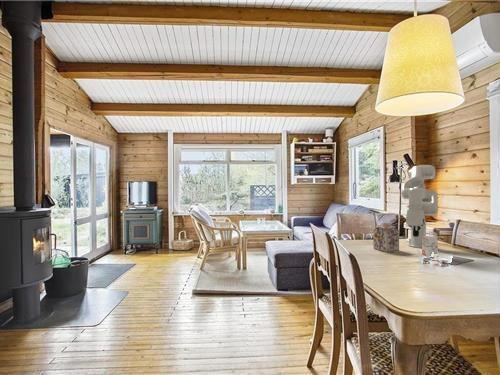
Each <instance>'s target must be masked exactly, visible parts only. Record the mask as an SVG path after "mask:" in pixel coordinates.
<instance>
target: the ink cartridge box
mask: <svg viewBox="0 0 500 375" xmlns="http://www.w3.org/2000/svg"><path fill="white" fill-rule="evenodd" d="M428 234H429V235H426V236H422V248H421V254H422V255H423V256H425V257H428V256H431V254H432V252H434V254H438V253H439V252H438V249H439V248H438V243H439V242H438V233H437V232H434V231H430V230H429V231H428ZM438 255H439V254H438Z"/></svg>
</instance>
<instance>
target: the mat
mask: <svg viewBox="0 0 500 375" xmlns="http://www.w3.org/2000/svg"><path fill="white" fill-rule="evenodd" d="M452 256H453V258H452V262H451V263H450V264H449V265H451V266H456V265H460V264H465V263H469V262H474V261H475V259H471V258H466V257H462V256H455V255H452Z"/></svg>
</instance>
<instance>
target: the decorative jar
mask: <svg viewBox="0 0 500 375" xmlns="http://www.w3.org/2000/svg"><path fill="white" fill-rule="evenodd" d="M390 224H391V223H389V222H382V223H381V225H376V226H375V227H374V228H373V232H372V234H373V238H372V239H373V240H372V241H373V242H372V243H373V249H374V250H376V251H381V252H385V253H391V252H397V251H400V230H399V229H398V228H397V227H396V226H394V225H390Z"/></svg>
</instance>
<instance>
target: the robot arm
mask: <svg viewBox="0 0 500 375" xmlns="http://www.w3.org/2000/svg"><path fill="white" fill-rule="evenodd" d="M407 174H408V179H407V180H406V181H405V182H404V183H403V184H402V185H401V186H402V187H401V191H400V192H401V194H400V195H401V198H402V199H403V200H408V205H407V206H406V207H407V208H408V209H407V211H406V217H405V223H406V226H407V227H409V228H410V238H406V240H405V241H406V242H408V245H407V246H408V247H412V248H417V249H420V248H421V249H422V236H427V221H426V219H425V218H426V217H425V216H436V215H437V214H438V210H439V204H438V202H439V200H438V191H436V190H435V189H426V185H425V183H424V182H425V180H433V179H435V177H436V174H437V173H436V168H435V166H433V165H431V164H422V165H421V164H420V165H414V166H413V167H412V168H410V169H409V171H408V172H407Z"/></svg>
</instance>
